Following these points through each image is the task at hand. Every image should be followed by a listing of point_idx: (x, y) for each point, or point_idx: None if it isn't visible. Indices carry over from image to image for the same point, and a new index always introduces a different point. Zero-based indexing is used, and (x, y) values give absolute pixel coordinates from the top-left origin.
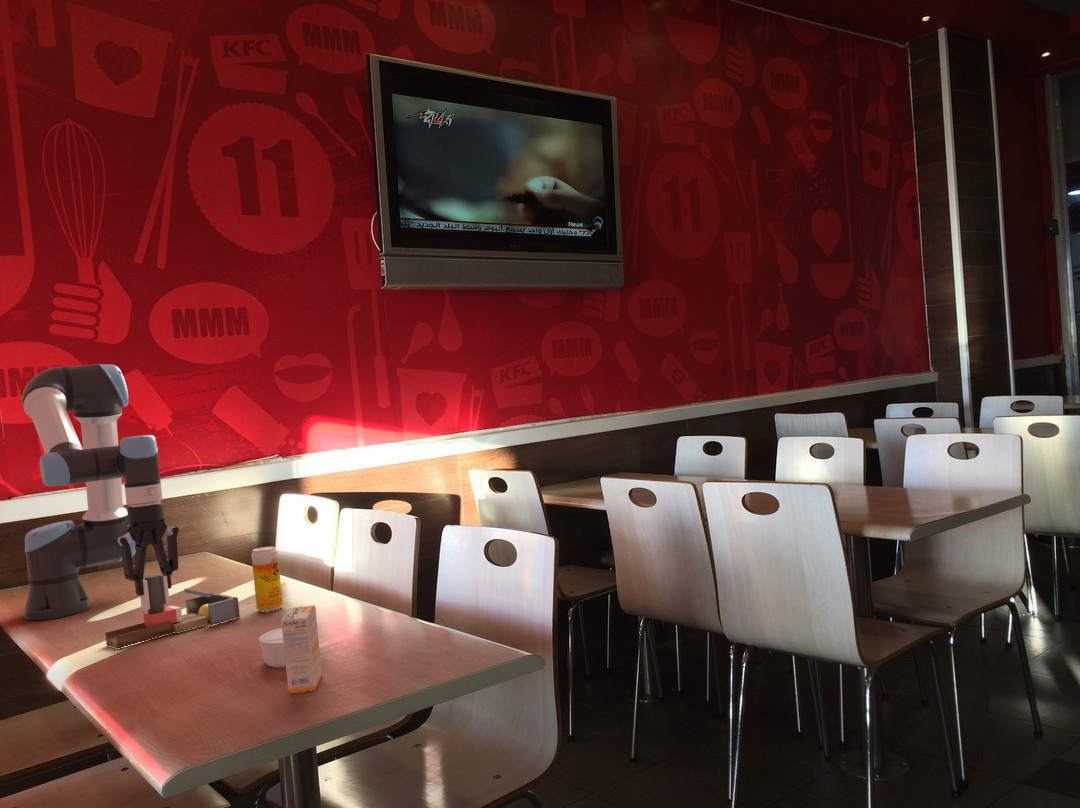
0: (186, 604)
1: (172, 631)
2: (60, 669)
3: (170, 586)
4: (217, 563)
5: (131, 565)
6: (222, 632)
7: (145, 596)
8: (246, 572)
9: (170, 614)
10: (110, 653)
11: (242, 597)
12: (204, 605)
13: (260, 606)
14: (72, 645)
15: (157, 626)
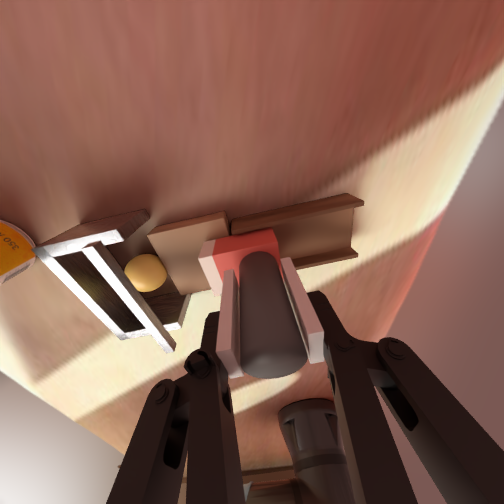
0: (182, 318)
1: (229, 229)
2: (482, 137)
3: (209, 317)
4: None
5: (465, 447)
6: (113, 113)
7: (301, 282)
8: (107, 432)
9: (228, 247)
10: (367, 178)
11: (97, 354)
12: (143, 281)
13: (8, 235)
14: (366, 292)
15: (263, 222)
